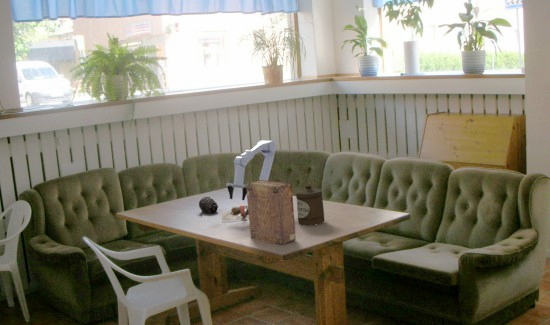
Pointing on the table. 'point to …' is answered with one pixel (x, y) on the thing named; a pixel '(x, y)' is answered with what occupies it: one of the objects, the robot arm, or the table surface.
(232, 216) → the base
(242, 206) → the lever
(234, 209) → the tan round ball
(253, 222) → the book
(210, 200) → the pine cone
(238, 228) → the table surface
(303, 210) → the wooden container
